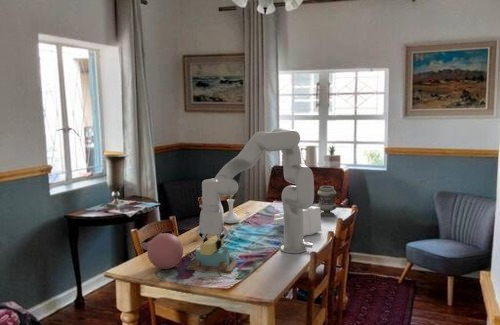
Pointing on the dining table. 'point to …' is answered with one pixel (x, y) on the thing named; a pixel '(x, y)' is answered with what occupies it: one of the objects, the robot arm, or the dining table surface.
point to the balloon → (164, 250)
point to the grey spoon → (231, 212)
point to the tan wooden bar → (210, 246)
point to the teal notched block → (213, 257)
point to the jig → (222, 266)
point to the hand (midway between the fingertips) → (212, 247)
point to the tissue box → (305, 220)
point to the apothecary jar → (327, 200)
